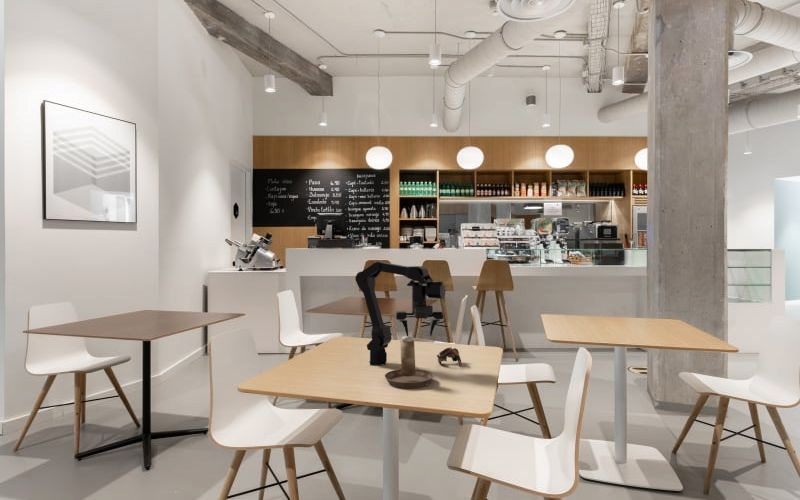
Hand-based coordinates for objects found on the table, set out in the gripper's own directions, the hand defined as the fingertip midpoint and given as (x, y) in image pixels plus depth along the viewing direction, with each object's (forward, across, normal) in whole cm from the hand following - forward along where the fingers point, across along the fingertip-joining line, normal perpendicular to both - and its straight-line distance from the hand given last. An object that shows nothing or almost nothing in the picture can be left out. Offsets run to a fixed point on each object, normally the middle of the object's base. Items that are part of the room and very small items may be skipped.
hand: (418, 336), depth 191 cm
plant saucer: (+14, -6, -18) cm, 23 cm away
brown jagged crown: (+13, +14, +6) cm, 21 cm away
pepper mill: (+10, -6, -18) cm, 22 cm away
